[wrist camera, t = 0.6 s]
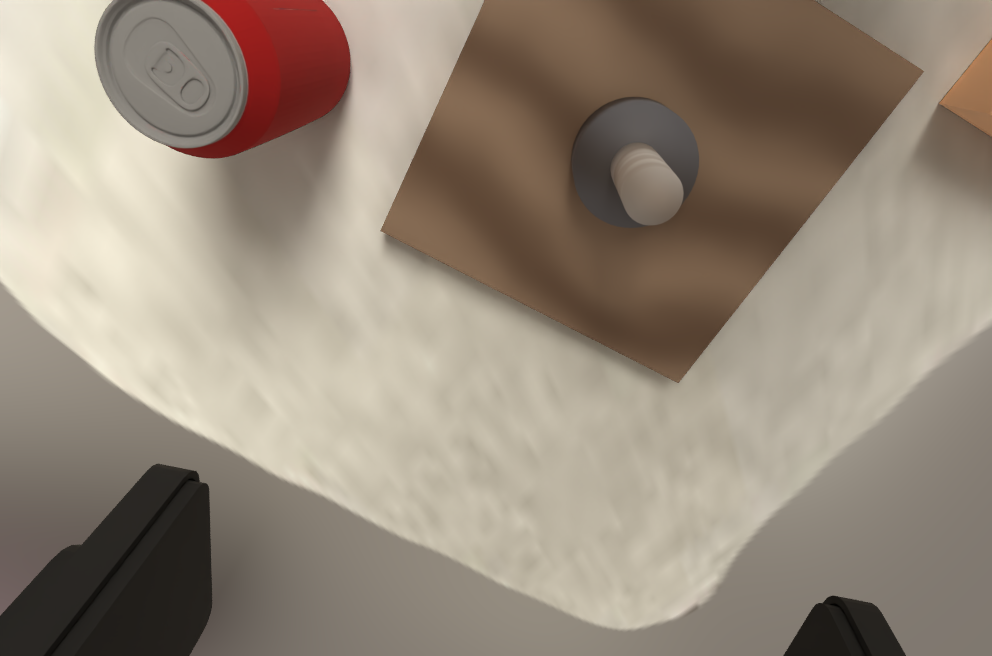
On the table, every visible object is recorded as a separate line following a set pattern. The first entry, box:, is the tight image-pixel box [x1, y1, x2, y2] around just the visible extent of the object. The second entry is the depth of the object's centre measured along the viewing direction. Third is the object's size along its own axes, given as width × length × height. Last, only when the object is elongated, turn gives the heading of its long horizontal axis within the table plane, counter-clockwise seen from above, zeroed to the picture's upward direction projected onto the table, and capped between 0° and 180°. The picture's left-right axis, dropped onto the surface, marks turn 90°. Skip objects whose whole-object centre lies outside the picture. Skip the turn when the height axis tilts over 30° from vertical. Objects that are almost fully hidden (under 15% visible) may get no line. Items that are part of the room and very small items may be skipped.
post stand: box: [381, 0, 924, 383], centre depth 29 cm, size 20×20×10 cm
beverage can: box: [95, 0, 350, 158], centre depth 27 cm, size 7×7×12 cm
